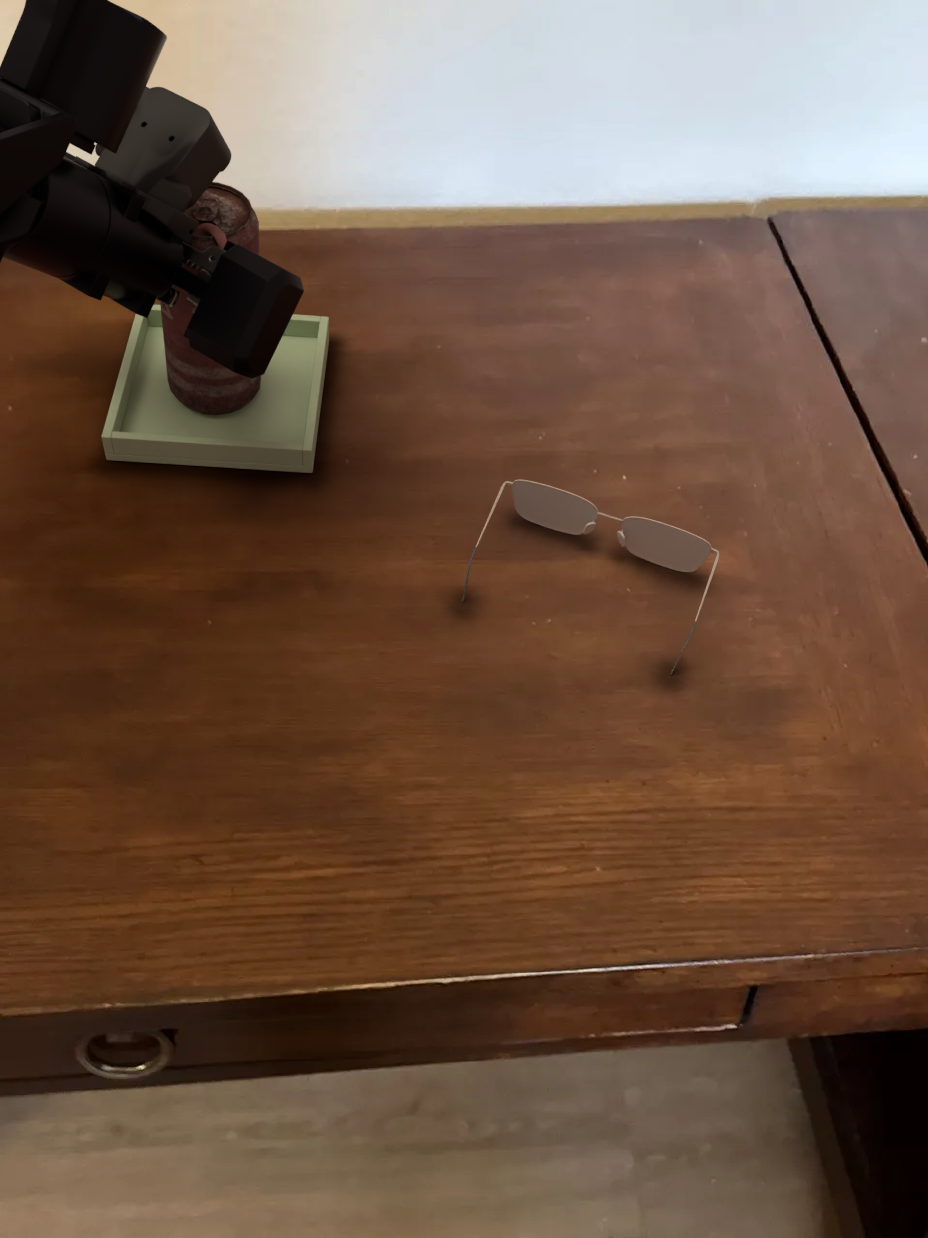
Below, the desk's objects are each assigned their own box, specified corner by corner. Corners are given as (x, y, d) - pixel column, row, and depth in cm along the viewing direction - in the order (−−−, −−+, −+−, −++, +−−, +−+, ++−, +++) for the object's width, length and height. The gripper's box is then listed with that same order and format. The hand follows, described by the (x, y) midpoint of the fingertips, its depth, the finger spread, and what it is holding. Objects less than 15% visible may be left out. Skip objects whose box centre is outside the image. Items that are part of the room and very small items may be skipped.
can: (198, 432, 79) (184, 253, 68) (152, 373, 82) (132, 191, 71) (279, 401, 82) (279, 224, 70) (233, 345, 84) (226, 165, 73)
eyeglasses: (710, 580, 76) (724, 541, 72) (675, 683, 71) (689, 647, 68) (500, 510, 78) (505, 469, 74) (455, 606, 74) (457, 568, 70)
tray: (106, 460, 78) (101, 436, 76) (142, 326, 86) (138, 302, 84) (312, 473, 79) (311, 450, 77) (329, 339, 87) (329, 316, 85)
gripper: (272, 142, 58) (403, 236, 72) (0, 6, 63) (173, 119, 78) (174, 354, 60) (321, 404, 74) (-81, 204, 66) (102, 278, 80)
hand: (228, 294), depth 77 cm, fingers closed on can, 5 cm apart
